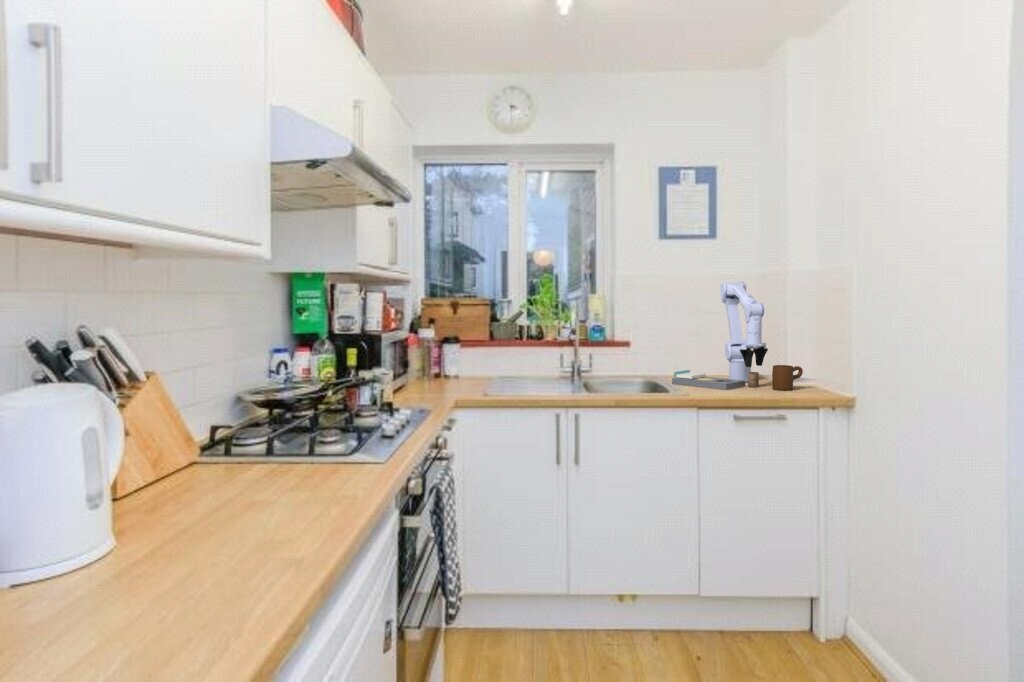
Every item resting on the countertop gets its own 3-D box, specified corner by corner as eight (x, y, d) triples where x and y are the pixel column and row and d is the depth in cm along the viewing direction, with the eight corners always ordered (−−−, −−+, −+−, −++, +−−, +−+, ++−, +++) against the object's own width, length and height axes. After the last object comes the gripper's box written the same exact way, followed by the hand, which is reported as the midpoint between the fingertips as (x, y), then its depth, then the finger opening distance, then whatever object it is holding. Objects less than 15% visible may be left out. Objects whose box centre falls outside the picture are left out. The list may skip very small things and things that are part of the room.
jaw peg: (751, 386, 264) (751, 371, 263) (760, 387, 261) (760, 372, 260) (746, 387, 261) (746, 372, 261) (755, 388, 258) (755, 373, 258)
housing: (691, 380, 283) (691, 375, 282) (745, 386, 263) (745, 380, 262) (672, 383, 274) (672, 377, 274) (726, 390, 254) (726, 383, 254)
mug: (797, 387, 257) (797, 364, 256) (807, 390, 250) (807, 366, 249) (768, 388, 256) (768, 365, 255) (778, 391, 248) (778, 367, 248)
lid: (687, 374, 282) (687, 369, 281) (705, 376, 275) (705, 371, 274) (673, 376, 275) (673, 371, 275) (691, 378, 268) (691, 373, 268)
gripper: (752, 334, 251) (752, 368, 252) (773, 332, 260) (772, 365, 261) (736, 333, 257) (736, 367, 258) (757, 331, 265) (757, 364, 266)
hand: (753, 366), depth 260 cm, fingers open, 7 cm apart
